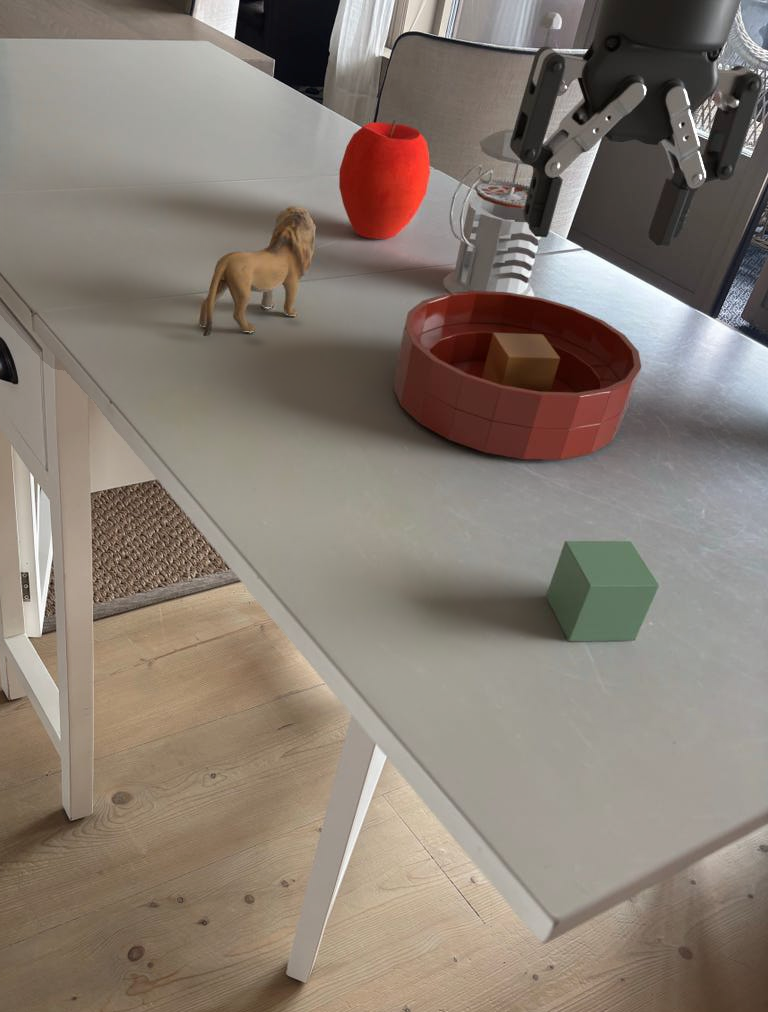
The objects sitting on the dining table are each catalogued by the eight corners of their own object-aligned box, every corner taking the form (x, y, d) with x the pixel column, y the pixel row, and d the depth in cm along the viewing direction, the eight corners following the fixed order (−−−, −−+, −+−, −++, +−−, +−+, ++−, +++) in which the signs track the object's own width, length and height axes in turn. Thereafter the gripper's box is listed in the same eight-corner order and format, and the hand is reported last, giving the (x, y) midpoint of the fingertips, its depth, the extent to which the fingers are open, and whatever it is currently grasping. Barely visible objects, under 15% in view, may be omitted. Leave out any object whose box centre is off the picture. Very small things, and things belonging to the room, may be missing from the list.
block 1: (529, 382, 86) (542, 334, 83) (545, 407, 83) (560, 358, 80) (480, 381, 85) (492, 332, 82) (495, 406, 82) (508, 356, 79)
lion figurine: (277, 289, 97) (285, 195, 91) (321, 306, 95) (332, 211, 89) (182, 333, 88) (185, 231, 82) (229, 352, 86) (235, 250, 80)
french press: (554, 300, 102) (632, 23, 85) (468, 315, 97) (533, 24, 80) (494, 265, 108) (556, 0, 91) (410, 278, 103) (460, 0, 86)
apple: (364, 257, 106) (382, 136, 98) (314, 226, 112) (327, 109, 104) (434, 247, 111) (457, 130, 103) (383, 217, 117) (400, 104, 109)
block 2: (609, 595, 65) (631, 540, 62) (635, 640, 61) (660, 585, 58) (545, 596, 64) (564, 540, 61) (568, 641, 61) (589, 585, 58)
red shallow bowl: (572, 357, 92) (591, 295, 88) (652, 467, 78) (679, 399, 74) (374, 350, 89) (385, 286, 85) (421, 463, 75) (436, 392, 71)
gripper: (588, -63, 50) (510, 252, 61) (839, -35, 52) (721, 266, 63) (546, -81, 56) (481, 211, 67) (774, -54, 58) (676, 225, 69)
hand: (598, 237), depth 65 cm, fingers open, 8 cm apart
